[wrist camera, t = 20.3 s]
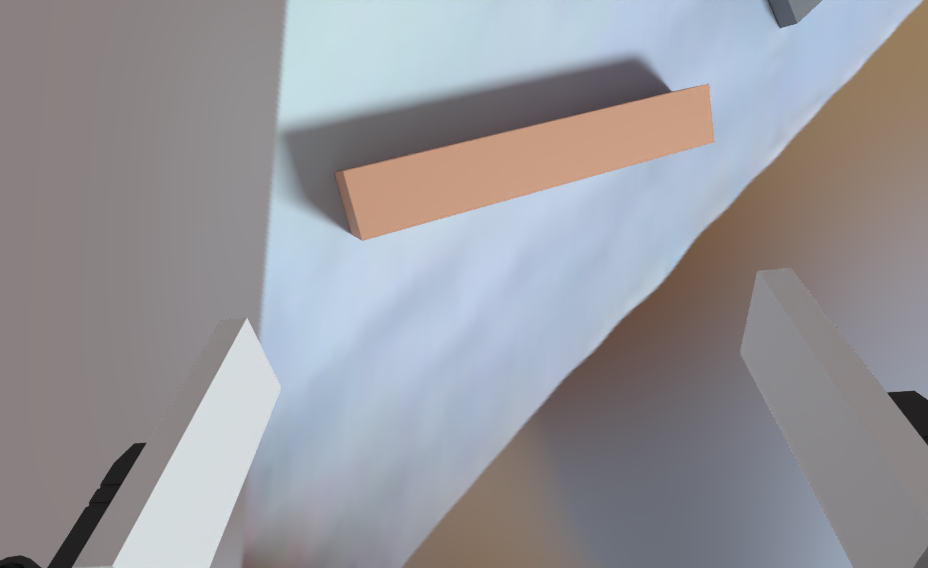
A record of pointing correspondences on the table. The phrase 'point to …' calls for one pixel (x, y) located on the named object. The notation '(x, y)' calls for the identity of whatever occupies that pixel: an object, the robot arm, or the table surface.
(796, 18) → the stand
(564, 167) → the bar
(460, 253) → the table surface
